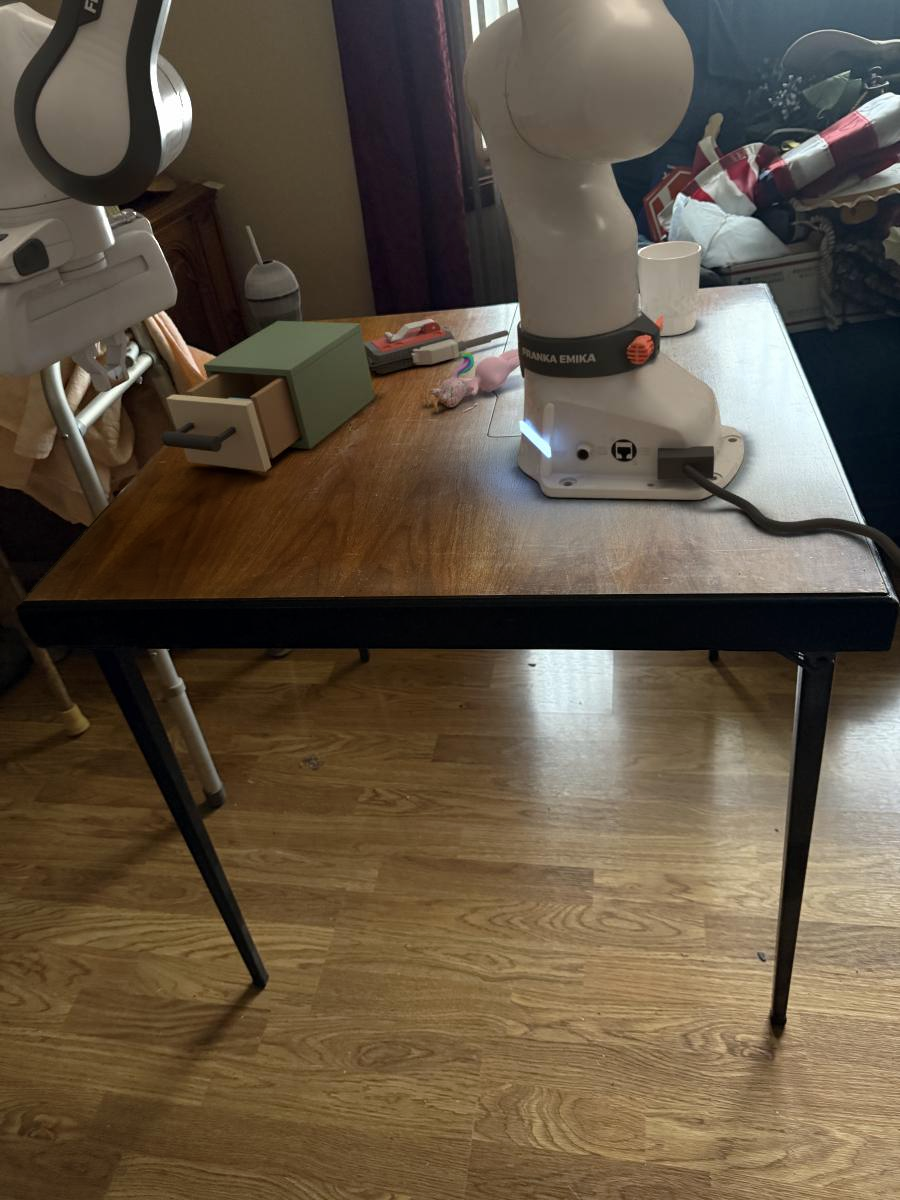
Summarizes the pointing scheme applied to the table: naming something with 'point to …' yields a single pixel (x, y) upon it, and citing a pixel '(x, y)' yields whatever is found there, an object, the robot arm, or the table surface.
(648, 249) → the white cup
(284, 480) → the table surface
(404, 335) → the toy chainsaw
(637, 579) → the table surface
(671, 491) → the robot arm
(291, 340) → the cabinet
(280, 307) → the beverage cup
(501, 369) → the pink unicorn toy
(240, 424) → the drawer
